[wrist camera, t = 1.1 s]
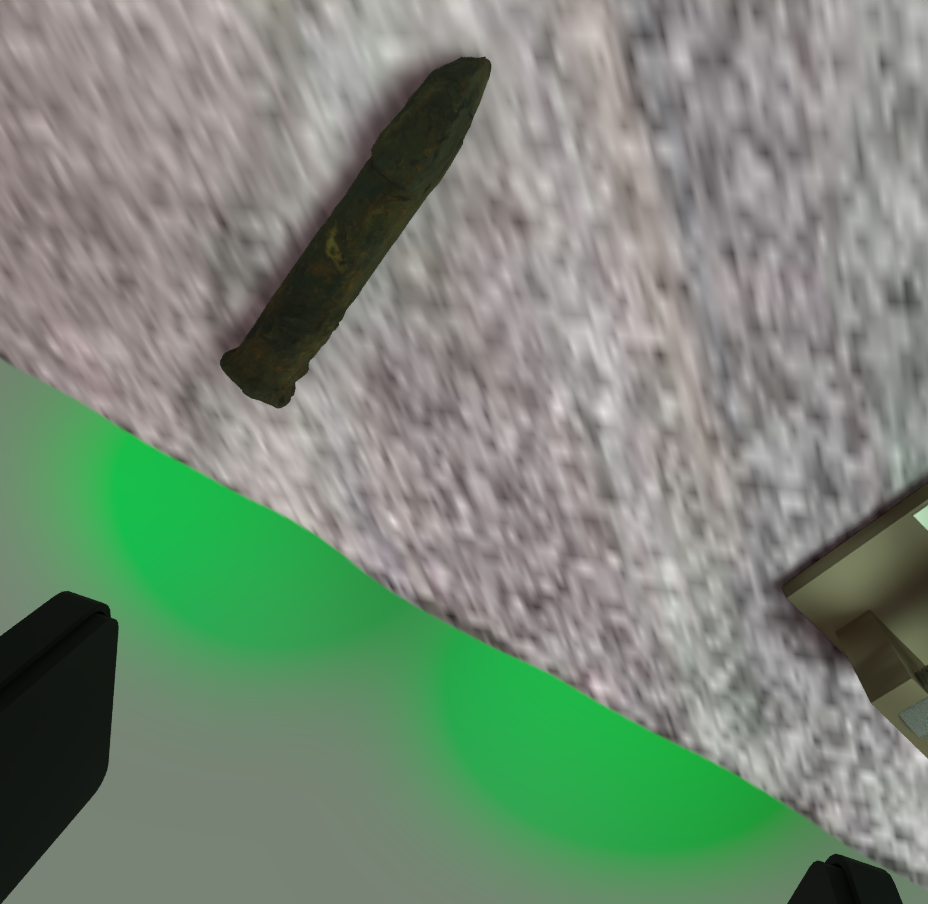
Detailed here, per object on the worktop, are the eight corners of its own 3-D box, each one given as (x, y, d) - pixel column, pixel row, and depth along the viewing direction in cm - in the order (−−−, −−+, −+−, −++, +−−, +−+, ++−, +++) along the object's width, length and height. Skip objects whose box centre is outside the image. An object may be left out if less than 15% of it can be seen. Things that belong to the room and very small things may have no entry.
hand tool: (298, 399, 40) (261, 424, 36) (241, 349, 40) (197, 369, 36) (536, 110, 34) (526, 98, 29) (471, 46, 33) (451, 25, 29)
